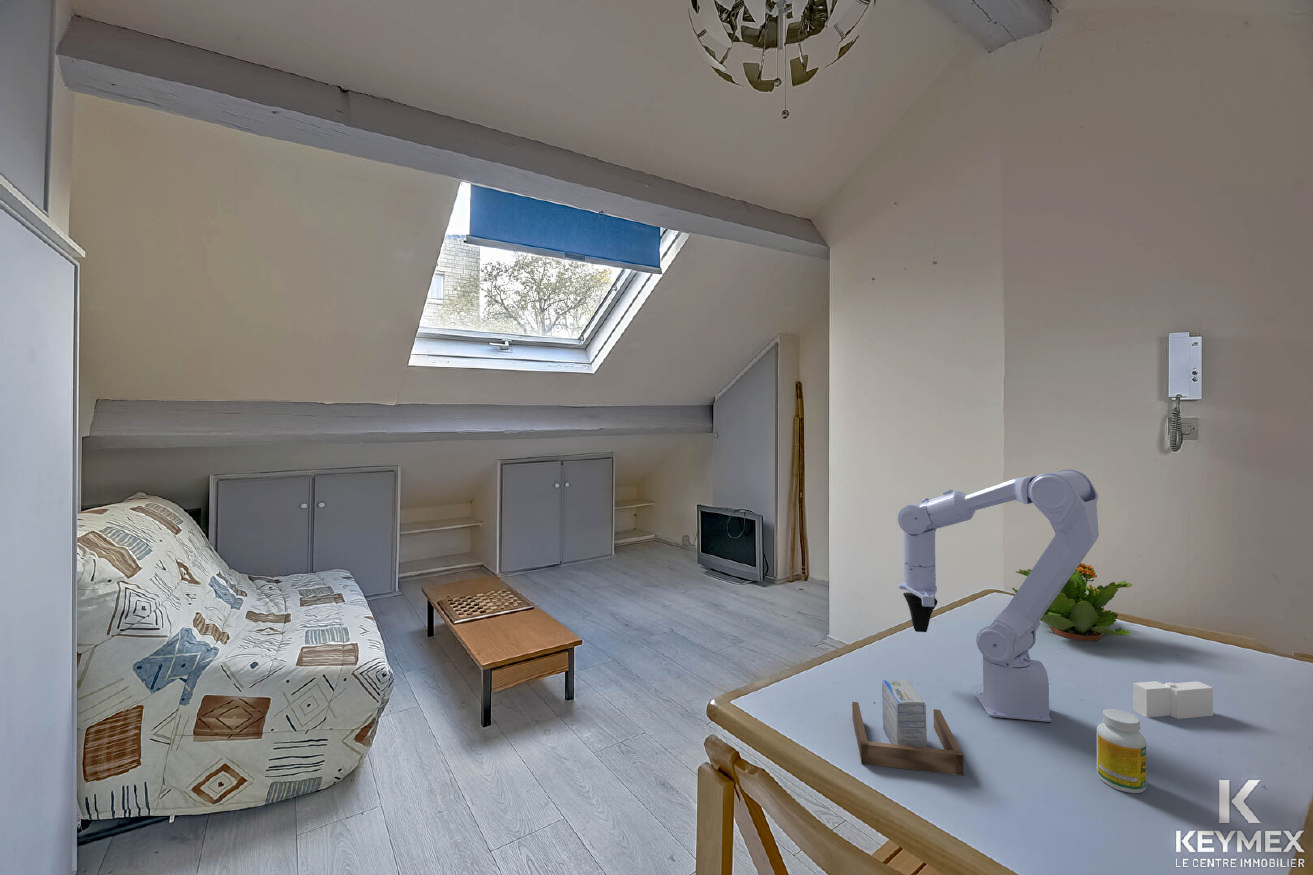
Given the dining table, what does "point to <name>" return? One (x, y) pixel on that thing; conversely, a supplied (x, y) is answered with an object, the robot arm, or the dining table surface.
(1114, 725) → the supplement bottle
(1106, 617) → the potted flower
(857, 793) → the dining table surface
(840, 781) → the dining table surface
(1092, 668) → the dining table surface
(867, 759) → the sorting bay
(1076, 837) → the dining table surface
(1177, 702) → the white notched double block
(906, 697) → the medicine box
